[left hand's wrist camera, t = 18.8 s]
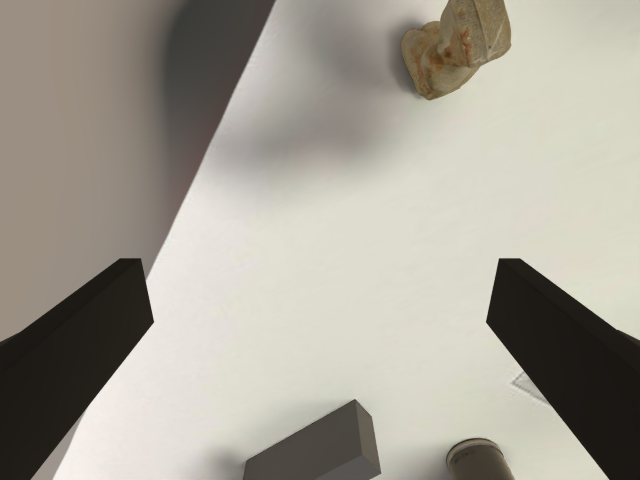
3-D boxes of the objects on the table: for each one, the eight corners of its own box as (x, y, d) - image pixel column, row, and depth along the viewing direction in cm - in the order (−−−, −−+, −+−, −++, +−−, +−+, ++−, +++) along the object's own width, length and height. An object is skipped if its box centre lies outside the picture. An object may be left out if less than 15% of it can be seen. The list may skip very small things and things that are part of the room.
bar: (355, 399, 55) (362, 454, 46) (371, 416, 56) (381, 473, 47) (246, 460, 60) (233, 520, 51) (264, 475, 61) (254, 536, 52)
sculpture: (444, 17, 36) (524, -43, 22) (457, 88, 38) (537, 75, 24) (390, 39, 36) (434, -6, 22) (407, 107, 39) (456, 105, 25)
